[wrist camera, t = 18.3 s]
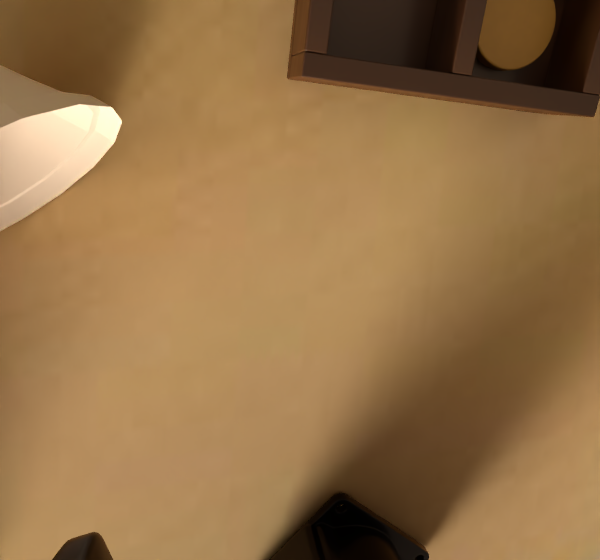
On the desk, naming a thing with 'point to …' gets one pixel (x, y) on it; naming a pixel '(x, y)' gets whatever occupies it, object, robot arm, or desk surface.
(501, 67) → the brass token
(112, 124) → the beige flared rod
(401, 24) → the token tray
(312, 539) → the robot arm
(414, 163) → the desk surface
